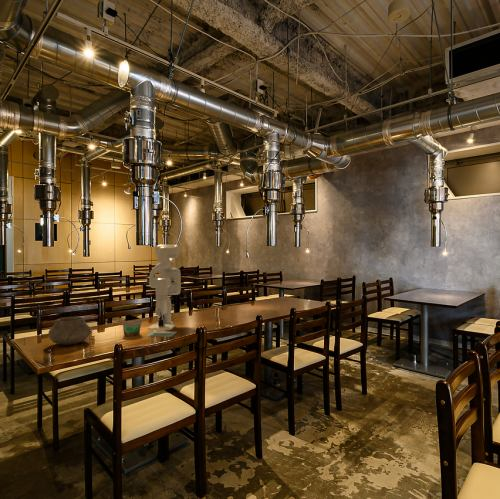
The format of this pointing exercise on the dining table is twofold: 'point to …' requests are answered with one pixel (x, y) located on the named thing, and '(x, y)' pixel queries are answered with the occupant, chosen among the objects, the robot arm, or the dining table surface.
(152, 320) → the dining table surface
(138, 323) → the food container
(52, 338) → the grey rounded lump
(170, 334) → the mat
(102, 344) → the dining table surface
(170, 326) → the lid
